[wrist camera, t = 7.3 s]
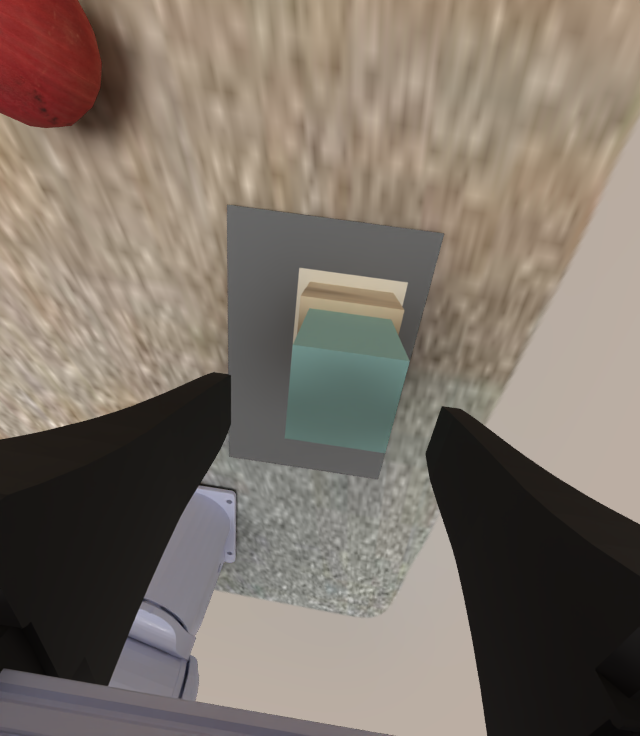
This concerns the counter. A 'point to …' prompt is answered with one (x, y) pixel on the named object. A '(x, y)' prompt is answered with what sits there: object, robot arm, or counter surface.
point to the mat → (281, 312)
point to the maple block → (350, 302)
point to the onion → (47, 62)
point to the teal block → (345, 380)
